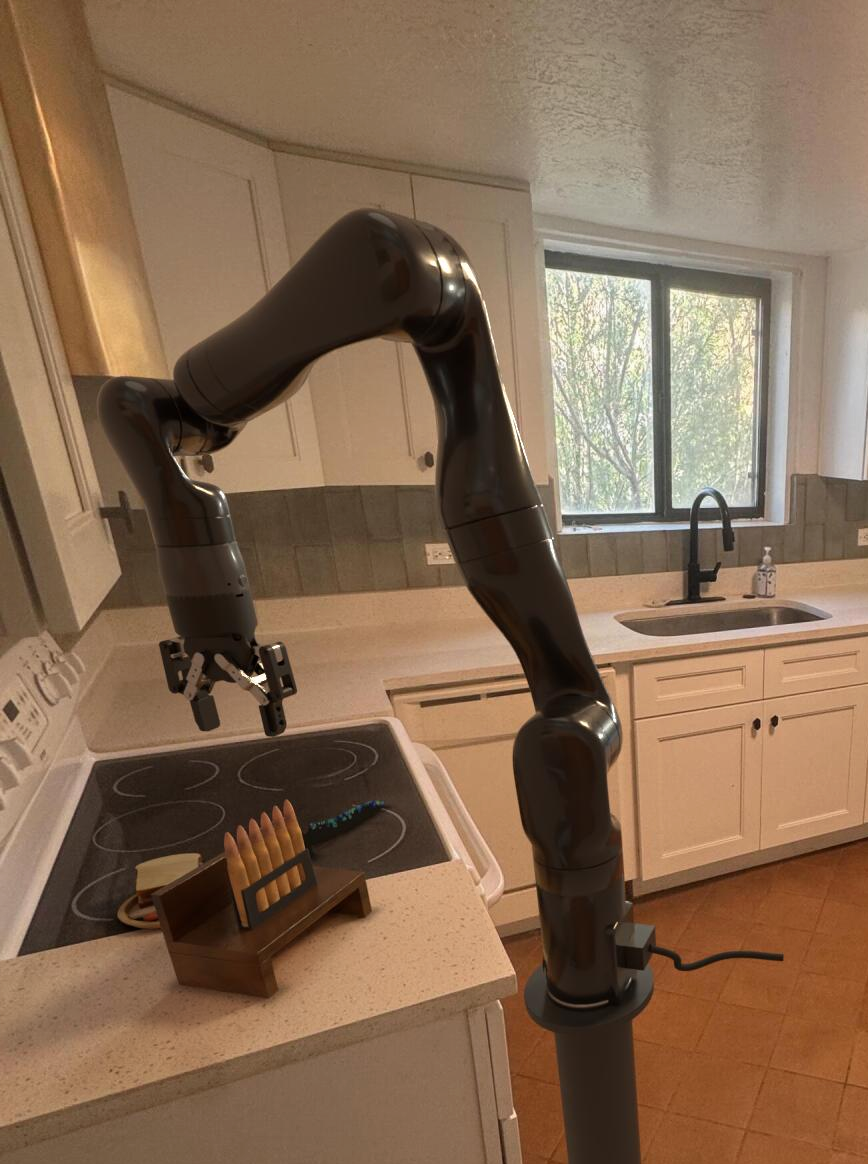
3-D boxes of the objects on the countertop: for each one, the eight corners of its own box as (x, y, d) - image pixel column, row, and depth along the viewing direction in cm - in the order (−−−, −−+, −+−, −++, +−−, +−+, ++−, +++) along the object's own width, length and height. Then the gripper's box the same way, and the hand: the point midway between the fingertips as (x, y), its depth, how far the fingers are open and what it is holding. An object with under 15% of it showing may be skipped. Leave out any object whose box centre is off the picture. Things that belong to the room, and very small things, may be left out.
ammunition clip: (251, 930, 89) (226, 837, 85) (237, 928, 90) (212, 835, 85) (317, 882, 99) (298, 796, 95) (304, 881, 99) (285, 795, 95)
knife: (236, 893, 106) (232, 862, 104) (219, 889, 106) (215, 858, 105) (399, 819, 134) (397, 795, 132) (385, 817, 135) (383, 792, 133)
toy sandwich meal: (108, 942, 97) (96, 909, 95) (134, 890, 109) (124, 860, 107) (226, 918, 102) (217, 887, 100) (239, 871, 114) (231, 842, 112)
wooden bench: (372, 911, 104) (356, 830, 100) (268, 998, 87) (244, 906, 83) (293, 901, 106) (274, 822, 102) (178, 984, 90) (150, 894, 85)
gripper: (117, 590, 80) (160, 739, 86) (237, 595, 77) (273, 748, 83) (181, 579, 87) (216, 717, 93) (292, 583, 84) (322, 725, 90)
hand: (243, 731), depth 88 cm, fingers open, 8 cm apart
